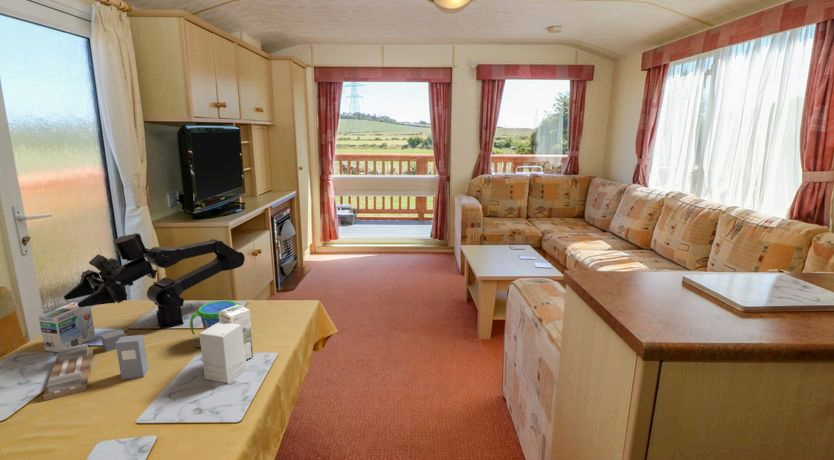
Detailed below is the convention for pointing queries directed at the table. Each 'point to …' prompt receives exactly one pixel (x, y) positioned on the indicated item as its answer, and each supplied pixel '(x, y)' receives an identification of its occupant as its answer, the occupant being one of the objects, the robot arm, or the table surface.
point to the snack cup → (211, 313)
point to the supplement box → (223, 351)
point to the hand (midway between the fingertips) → (71, 301)
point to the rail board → (70, 372)
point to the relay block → (111, 339)
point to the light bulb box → (66, 327)
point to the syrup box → (242, 318)
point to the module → (132, 356)
